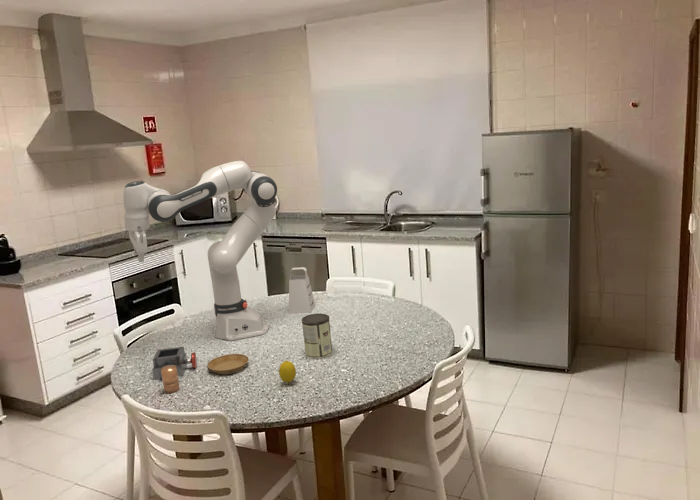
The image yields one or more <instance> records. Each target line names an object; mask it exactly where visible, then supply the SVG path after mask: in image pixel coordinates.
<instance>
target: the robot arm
mask: <svg viewBox="0 0 700 500" xmlns="http://www.w3.org/2000/svg"><path fill="white" fill-rule="evenodd" d="M237 189H242V190H243V192H244V193H245V194H246V195H247V196H248V197H250V199H251V202H250V205H249V206H248V207H247V208H246V210H245V211H244V212H243V213H242V214H241V215H240V216H239V218H238V219H237V220H236V221H235V222H234V223H233V224H232V225H231V226H230V228H229V229H228V231H227V232H226V233H225V235H224V237H223V238H222V240H219V241H215V242H214V243H212V244H211V245H210V246H209V248H208V250H207V261H208V267H209V273H210V279H211V280H210V281H211V284H212V285H211V286H212V292H213V293H212V294H213V298H214V304H213V310H214V315H215V317H216V322H215V323H216V326H215V334H214V336H215V338H217V339H220V340H221V339H222V340H225V341H235V340H236V341H237V340H242V339H246V338H247V339H248V338H251V337H256V336H257V337H258V336H262V335H265V334H267V333H268V332H269V330H270V329H269V328H270V327H269V324H268V323H267V322H265V321H263V319H262V316H261V314H260V313H259V312H257V311H255V310H253V309H252V308H250V307H248V302H247V299H243V298H242V293H241V287H240V286H241V285H240V279H239V274H238V268H237V266H238V264H239V262H241V260H242V259H243V257H244V256H245V254H246V253H247V252H248V250H249V248H251V246H252V245H253V244H254V243H255V241H256V240H257V239H258V238H259V236H261V235H262V233H263V232H264V231H265V230H266V229H267V227H268V226H269V225H270V224H271V222H272V220H273V219H274V217H275V216H276V214H277V208H276V206H275V204H274V203H275V199H276V197H277V194H278V186H277V183H276V182H275V181H274V180H273V178H272V177H270V176H269V175H267V174H265V173H262V172H260V171H255V170H251V168H250V166H249V165H248V163H247V162H246V161H243V160H236V161H235V160H234V161H230V162H226V163H223V164H220V165H217V166H214V167H211V168H209V169H207V170H206V171H205V172H203V174H202V175H201V176H200V180H199V181H198V182H197V184H196V185H194V186H192V187H190V188H188V189H186V190H183V191H181V192H178V193H176V194H171V192H169V191H168V190H166V189H163V188H159V187H156V186H152V185H150V184H148V183H147V182H146V181H143V180H135V181H132V182H131V181H130V182H129V183H127V184H126V185H125V186H124V188H123V196H122V197H123V207H124V216H123V217H124V229H125V230H126V231H128V237H129V240H130V242H131V243H132V245H133V250H134V255H136V256H137V255H138V256H137V257H138V260H137V261H138V262H139V263H144V261H145V254H148V241H147V240H148V239H147V234H146V233H147V230H149V229H150V228H151V225H150V216H151V218H153V219H154V220H155V221H157V222H160V223H161V222H162V223H165V222H167V223H168V222H169V221H172V220H173V219H174V218H176V217H177V216H178V215H179V213H181V212H182V211H184V210H186V209H189V208H192V207H194V206H195V205H198V204H200V203H202V202H204V201H207V200H209V199H212V198H215V197H217V196H218V197H219V196H221V195H224V194H226V193H229V192H232V191H234V190H237Z"/></svg>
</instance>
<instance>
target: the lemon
mask: <svg viewBox="0 0 700 500" xmlns="http://www.w3.org/2000/svg"><path fill="white" fill-rule="evenodd" d="M278 375H279V378H280V380H281V381H283V382H284V383H287V384H290V383H291V382H293V381H294V380H295V378H296V376H297V370H296V365H295V364H294V362H291V361H289V360H285V361H282V363H281V364H280V365H279V369H278Z"/></svg>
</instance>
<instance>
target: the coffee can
mask: <svg viewBox="0 0 700 500" xmlns="http://www.w3.org/2000/svg"><path fill="white" fill-rule="evenodd" d="M301 323H302V324H301V325H302V335H303V343H304V351H305V357H306V358H308V359H312V360H320V359H325V358H328V357H330V356H331V355H332V354H333V345H332V336H331V325H330V316H329V314H326V313H310V314H307V315H305V316H303V317H302V318H301Z"/></svg>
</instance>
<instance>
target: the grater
mask: <svg viewBox="0 0 700 500" xmlns="http://www.w3.org/2000/svg"><path fill="white" fill-rule="evenodd" d="M293 270H295V271H297V270H303V271H304V274H301V275H299V274H298V275H297V274H296V275H293V274H292V271H293ZM288 272H289V281H288V315H291V314H292V315H293V314H294V315H296V314H312V312H313V310H314V309H315V308H316V302H315V298H314V295H313V291H312V285H311V280H310V277H309V275H308V269H307V268H306V267H305V266H301V267H292V268H291V269H290V270H289V271H288Z"/></svg>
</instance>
